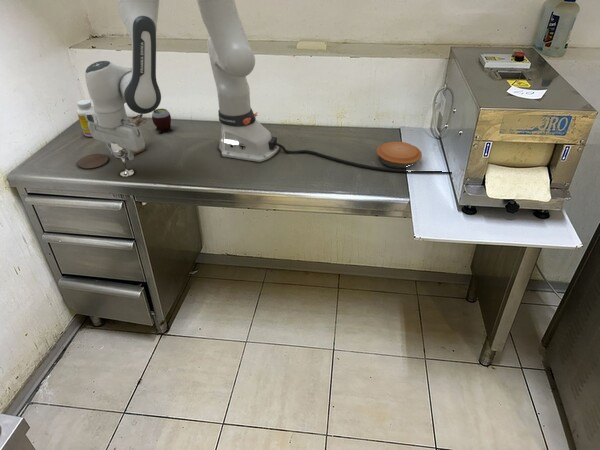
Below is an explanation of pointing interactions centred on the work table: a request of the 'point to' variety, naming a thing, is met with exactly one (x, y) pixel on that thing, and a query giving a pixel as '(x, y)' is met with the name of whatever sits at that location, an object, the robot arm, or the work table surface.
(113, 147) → the wineglass
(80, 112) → the supplement bottle
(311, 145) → the work table surface
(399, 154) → the pie
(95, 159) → the coaster
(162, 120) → the mate gourd
